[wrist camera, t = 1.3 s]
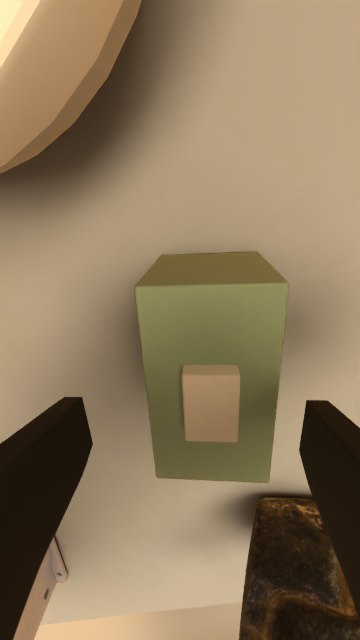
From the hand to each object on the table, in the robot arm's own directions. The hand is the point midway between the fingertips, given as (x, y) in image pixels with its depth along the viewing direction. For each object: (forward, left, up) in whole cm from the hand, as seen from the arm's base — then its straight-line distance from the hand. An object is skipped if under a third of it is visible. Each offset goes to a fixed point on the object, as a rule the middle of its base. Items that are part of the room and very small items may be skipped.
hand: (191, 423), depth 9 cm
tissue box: (0, -1, -8) cm, 8 cm away
